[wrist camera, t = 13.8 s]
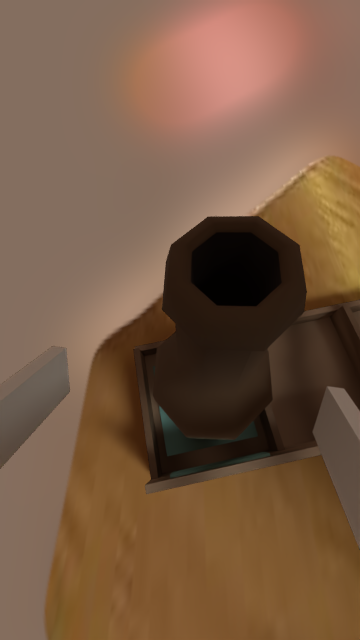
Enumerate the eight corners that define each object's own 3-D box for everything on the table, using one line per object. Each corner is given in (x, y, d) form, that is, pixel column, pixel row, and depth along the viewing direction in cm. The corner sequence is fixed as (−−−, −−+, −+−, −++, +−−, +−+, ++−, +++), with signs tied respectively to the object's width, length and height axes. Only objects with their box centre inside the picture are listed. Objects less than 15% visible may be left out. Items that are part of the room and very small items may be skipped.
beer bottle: (257, 425, 27) (520, 358, 5) (183, 454, 26) (112, 526, 4) (225, 354, 30) (302, 120, 8) (158, 378, 29) (44, 196, 7)
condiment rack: (418, 296, 33) (471, 261, 26) (489, 407, 28) (577, 397, 21) (140, 354, 32) (125, 333, 25) (158, 481, 27) (146, 494, 20)
